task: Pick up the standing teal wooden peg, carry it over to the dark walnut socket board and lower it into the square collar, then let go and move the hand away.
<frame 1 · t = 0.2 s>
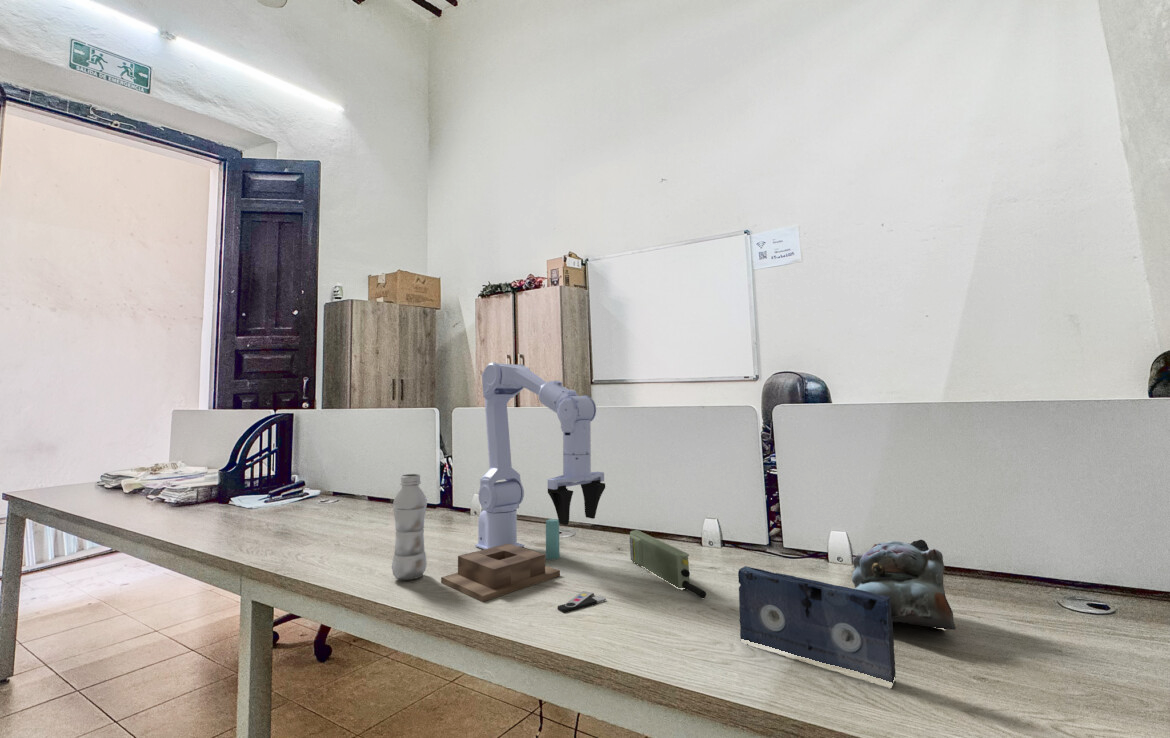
hand: (577, 520, 101), 10 cm above the table, tool pointing down, fingers open, 7 cm apart
usb flash drive: (577, 605, 83), on the table
plastic bottle: (409, 579, 96), on the table
lucky cat figurine: (894, 624, 74), on the table
peg: (552, 557, 109), on the table
socket board: (501, 579, 95), on the table
vhs cassette tape: (812, 663, 63), on the table
handheld radio: (665, 580, 95), on the table
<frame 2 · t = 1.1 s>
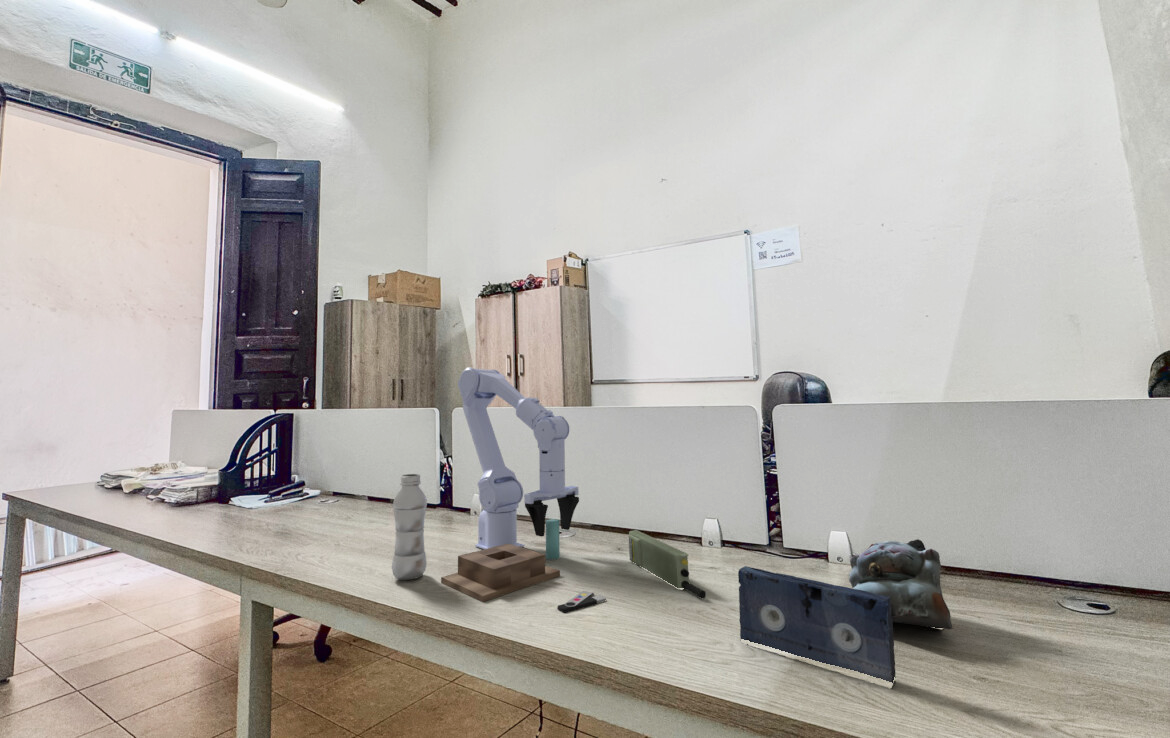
hand: (552, 532, 109), 5 cm above the table, tool pointing down, fingers open, 7 cm apart
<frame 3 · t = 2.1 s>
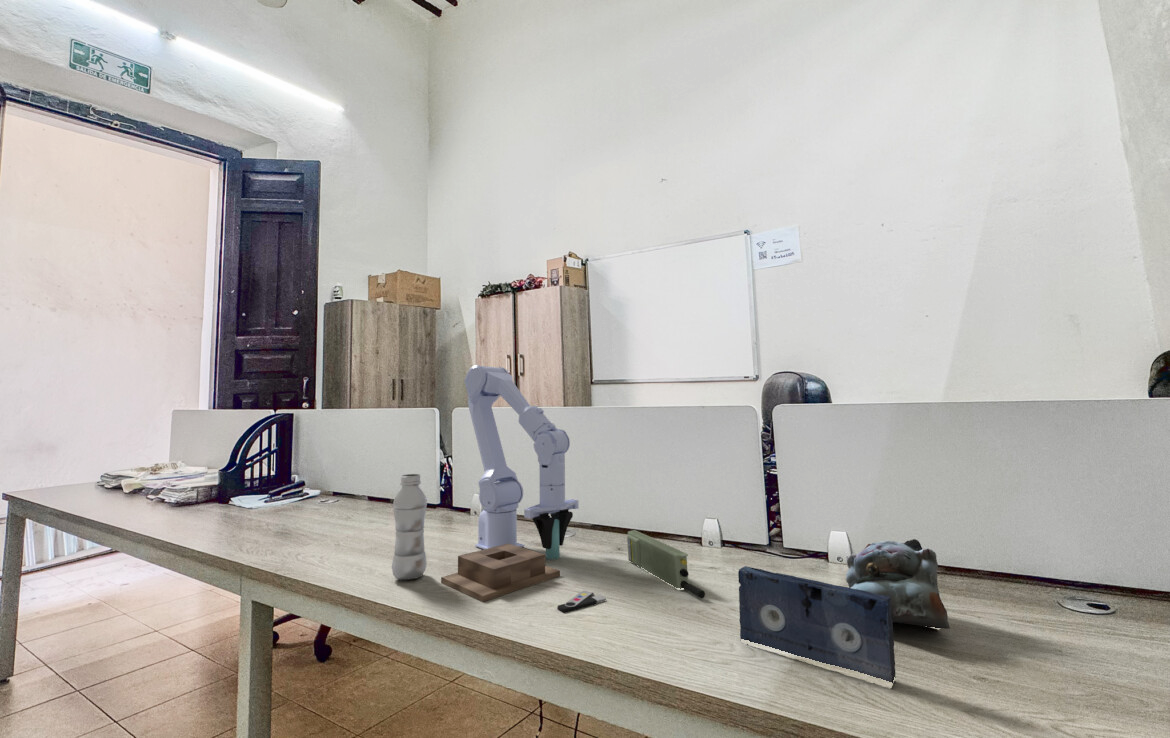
hand: (552, 546, 109), 2 cm above the table, tool pointing down, fingers closed on peg, 3 cm apart
peg: (552, 557, 109), on the table, touching gripper
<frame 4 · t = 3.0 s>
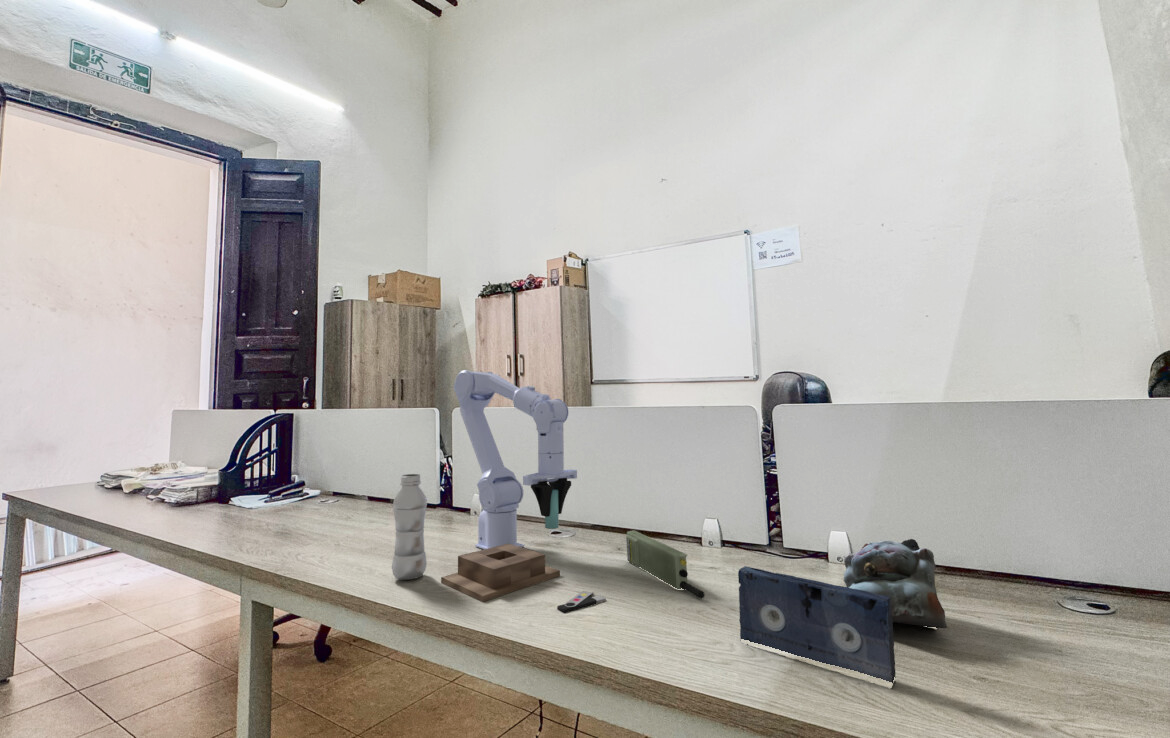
hand: (551, 514, 109), 9 cm above the table, tool pointing down, fingers closed on peg, 3 cm apart
peg: (551, 527, 109), point 7 cm above the table, touching gripper
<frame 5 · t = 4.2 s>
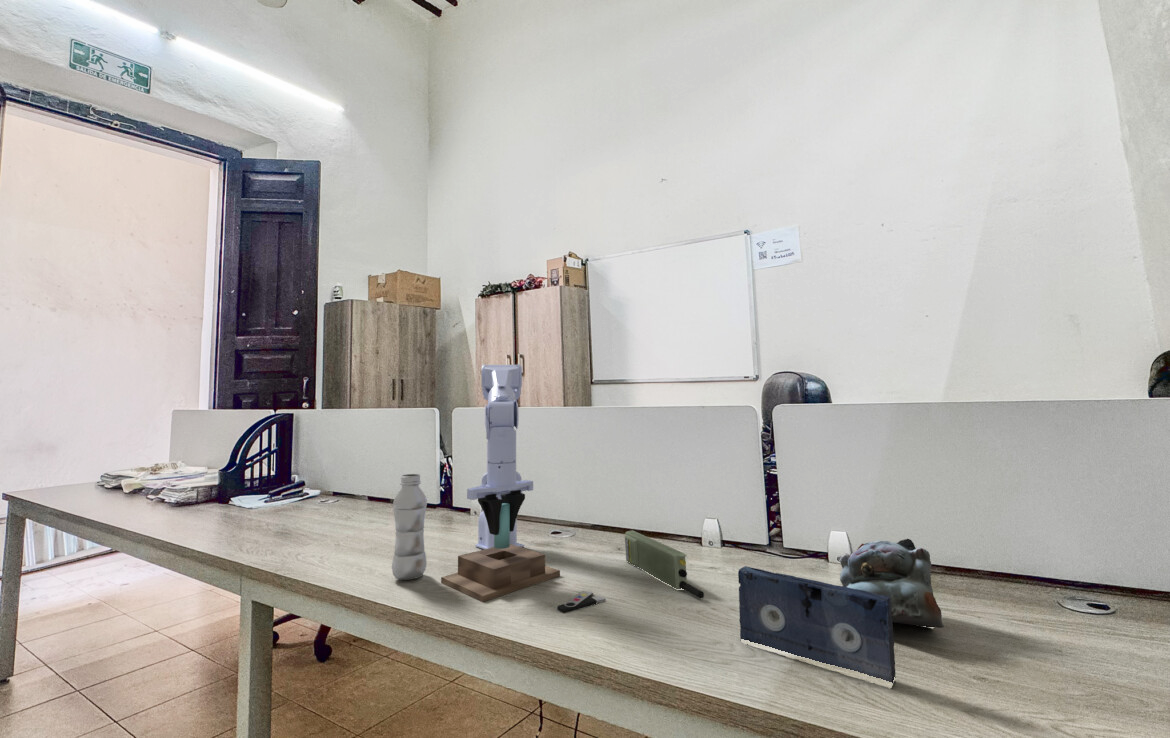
hand: (501, 532, 96), 9 cm above the table, tool pointing down, fingers closed on peg, 3 cm apart
peg: (501, 546, 96), point 6 cm above the table, touching gripper
when the fingers open (5 cm above the table, at t = 5.2 s): peg drops 2 cm, resting on socket board.
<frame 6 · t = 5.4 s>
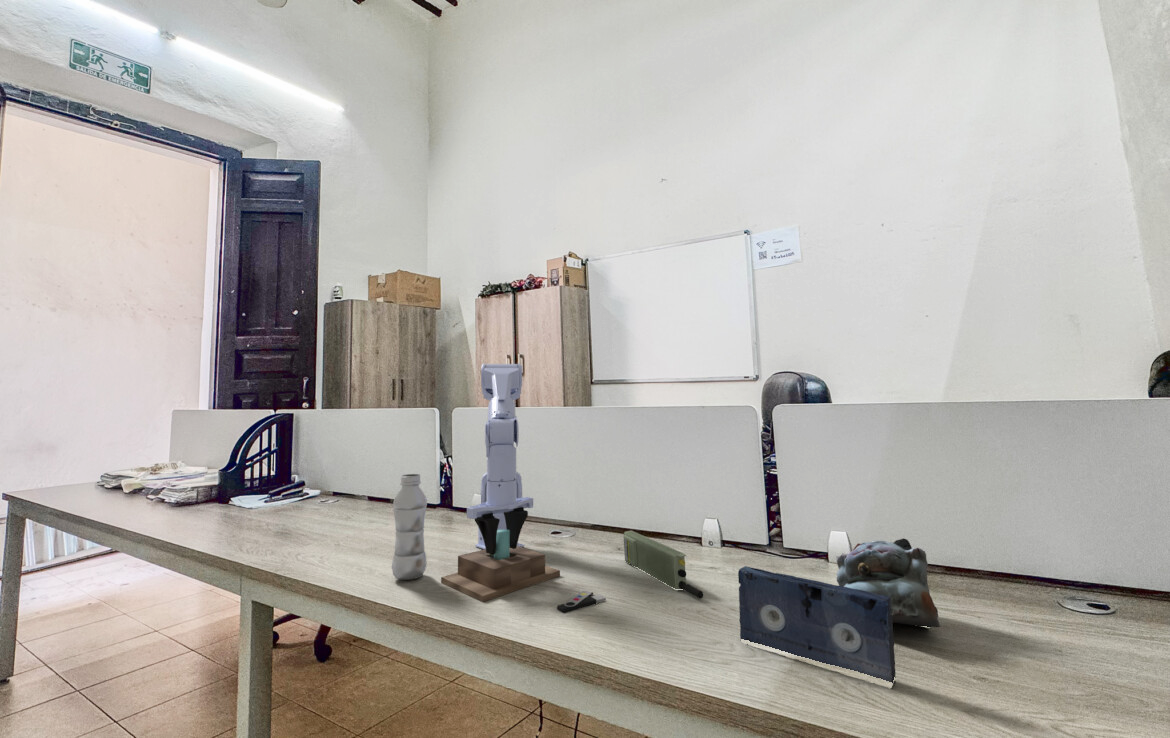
hand: (501, 550, 96), 5 cm above the table, tool pointing down, fingers open, 4 cm apart
peg: (501, 573, 95), point 1 cm above the table, touching socket board
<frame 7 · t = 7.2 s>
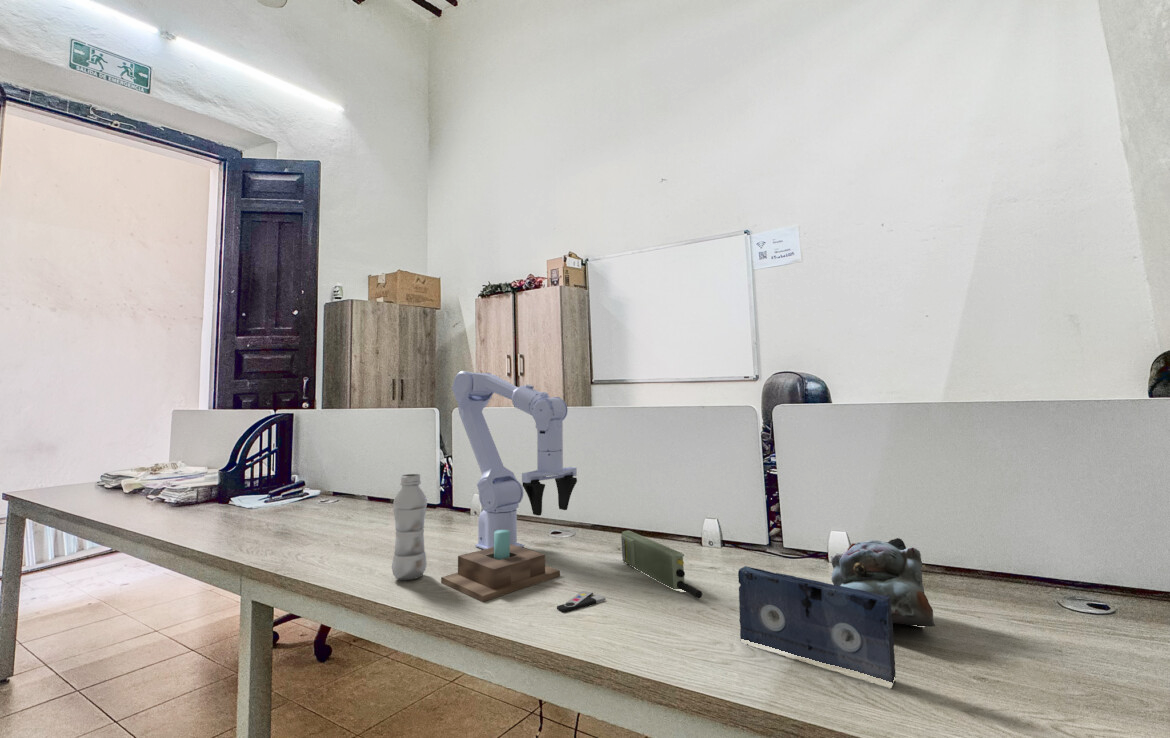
hand: (550, 512, 109), 10 cm above the table, tool pointing down, fingers open, 7 cm apart
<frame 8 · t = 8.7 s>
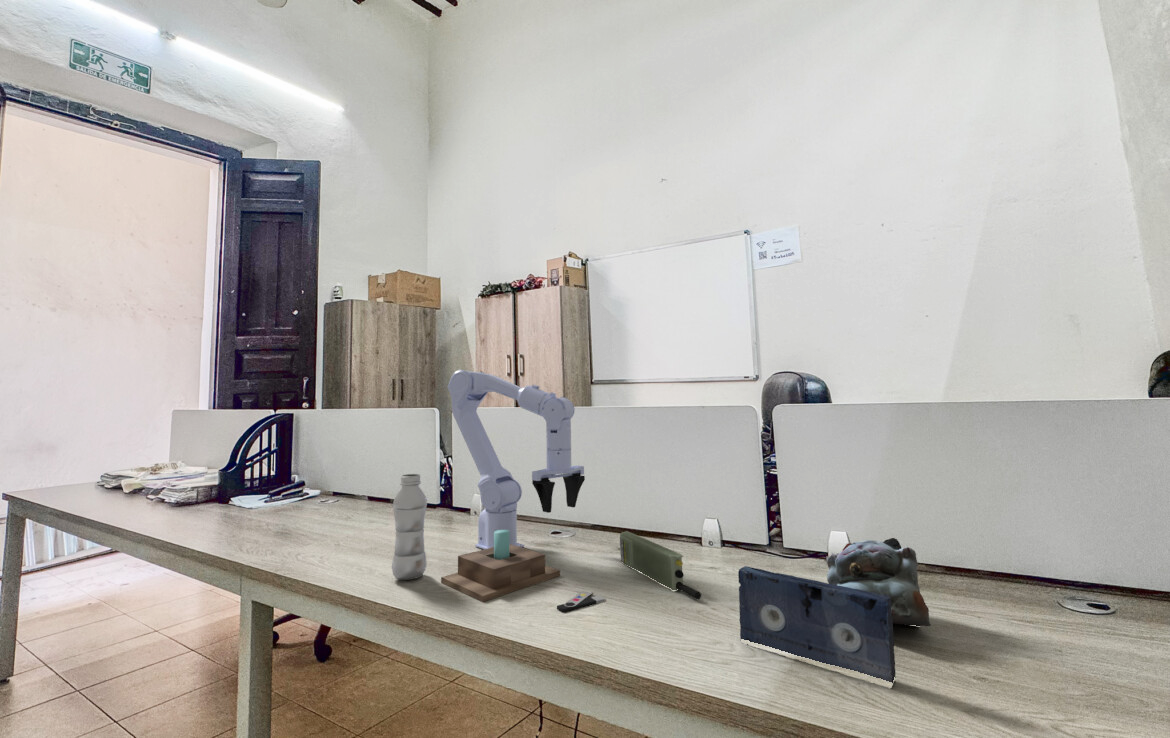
hand: (559, 509, 112), 10 cm above the table, tool pointing down, fingers open, 7 cm apart
at the end: peg 0.1 cm off-centre on the socket board, point 1.0 cm above the socket board's base; peg tilted 0°; the gripper is holding nothing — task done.
